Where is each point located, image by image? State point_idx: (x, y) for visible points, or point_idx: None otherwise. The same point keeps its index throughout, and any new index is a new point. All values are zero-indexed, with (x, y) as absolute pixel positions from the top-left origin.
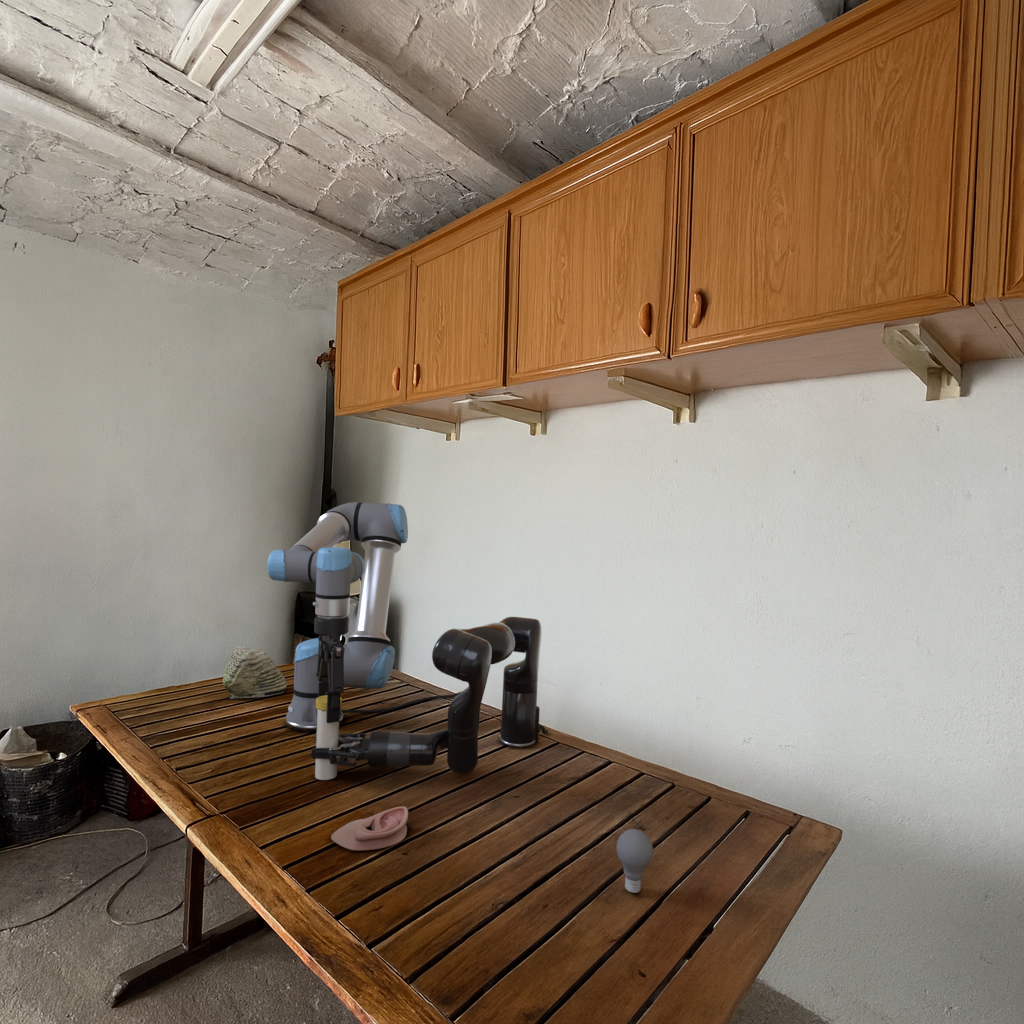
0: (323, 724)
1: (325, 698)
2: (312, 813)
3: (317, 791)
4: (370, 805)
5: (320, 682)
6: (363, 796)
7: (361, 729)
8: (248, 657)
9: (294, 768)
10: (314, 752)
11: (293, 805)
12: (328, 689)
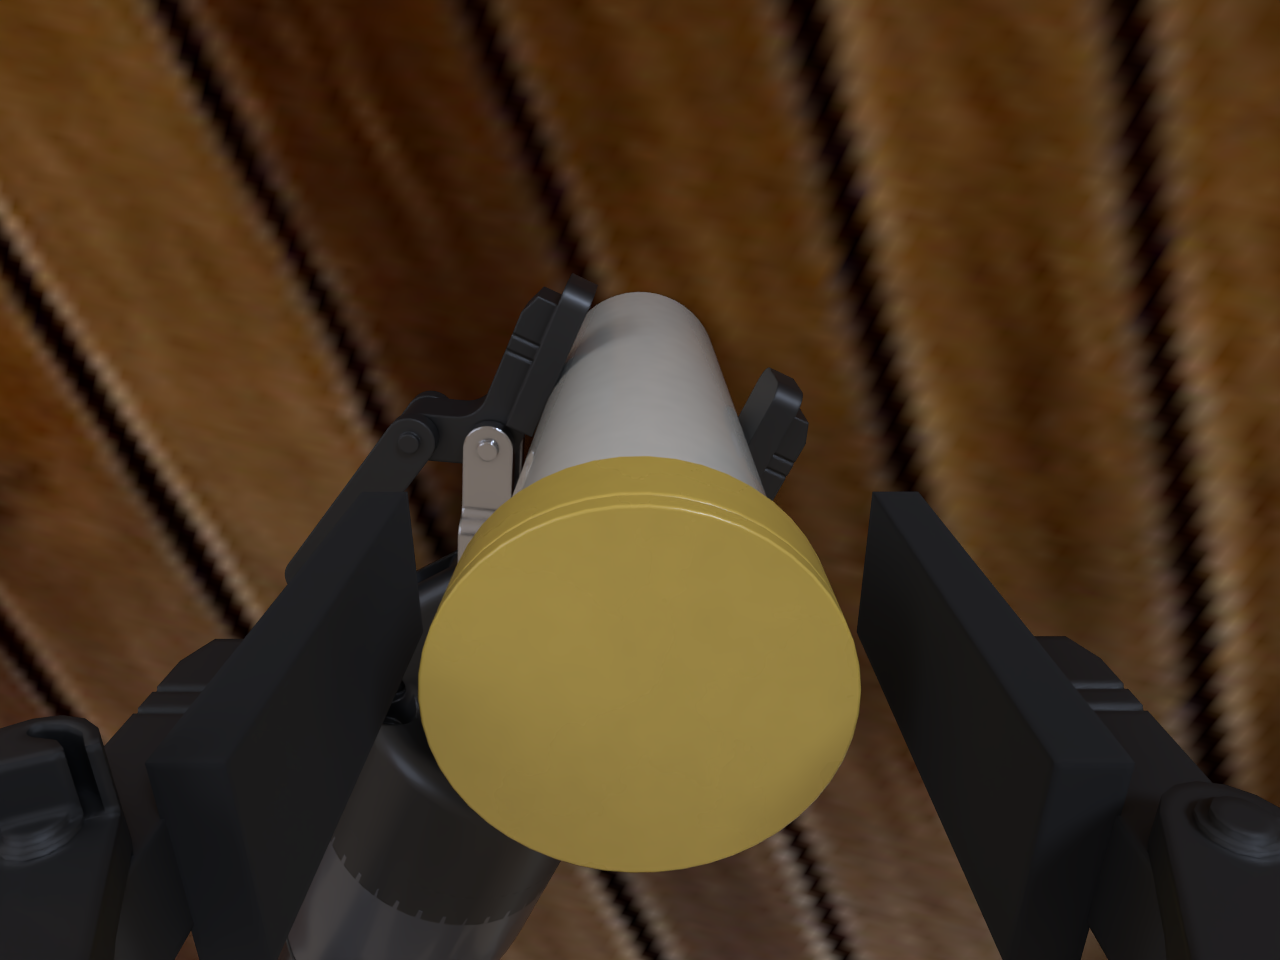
0: (533, 460)
1: (681, 664)
2: (94, 151)
3: (412, 256)
4: (129, 505)
5: (1110, 797)
6: (256, 500)
7: (1266, 750)
8: None
9: (862, 182)
10: (535, 298)
11: (243, 47)
12: (958, 810)
